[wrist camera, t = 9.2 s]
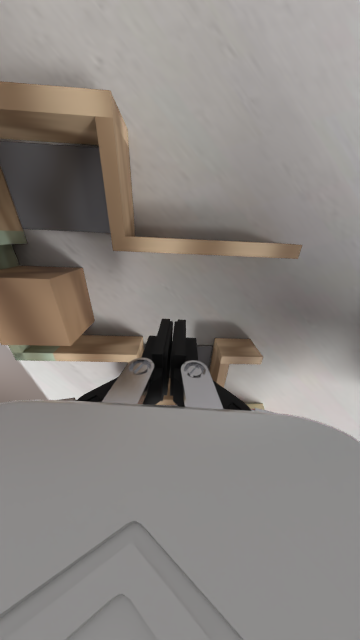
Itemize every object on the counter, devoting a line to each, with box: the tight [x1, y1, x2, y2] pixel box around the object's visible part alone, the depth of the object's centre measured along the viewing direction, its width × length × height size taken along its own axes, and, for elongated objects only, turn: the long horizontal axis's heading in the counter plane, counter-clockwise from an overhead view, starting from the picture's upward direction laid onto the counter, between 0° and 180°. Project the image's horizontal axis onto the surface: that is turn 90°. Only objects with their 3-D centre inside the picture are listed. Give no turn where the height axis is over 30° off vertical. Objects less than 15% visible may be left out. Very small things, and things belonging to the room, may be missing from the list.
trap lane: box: [0, 82, 302, 405], centre depth 16 cm, size 26×26×4 cm
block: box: [0, 266, 95, 346], centre depth 15 cm, size 6×6×5 cm
